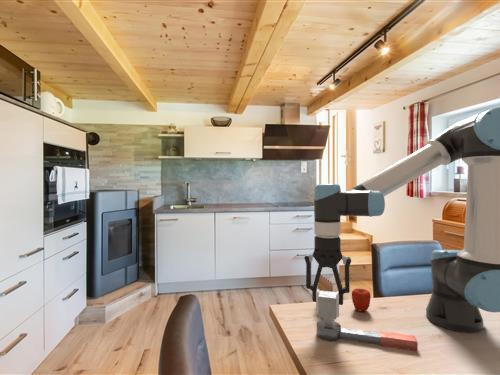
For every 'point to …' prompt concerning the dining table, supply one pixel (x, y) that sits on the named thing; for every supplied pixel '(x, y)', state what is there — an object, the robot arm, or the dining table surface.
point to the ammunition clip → (325, 284)
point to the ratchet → (364, 336)
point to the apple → (361, 299)
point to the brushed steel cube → (327, 304)
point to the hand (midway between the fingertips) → (327, 313)
